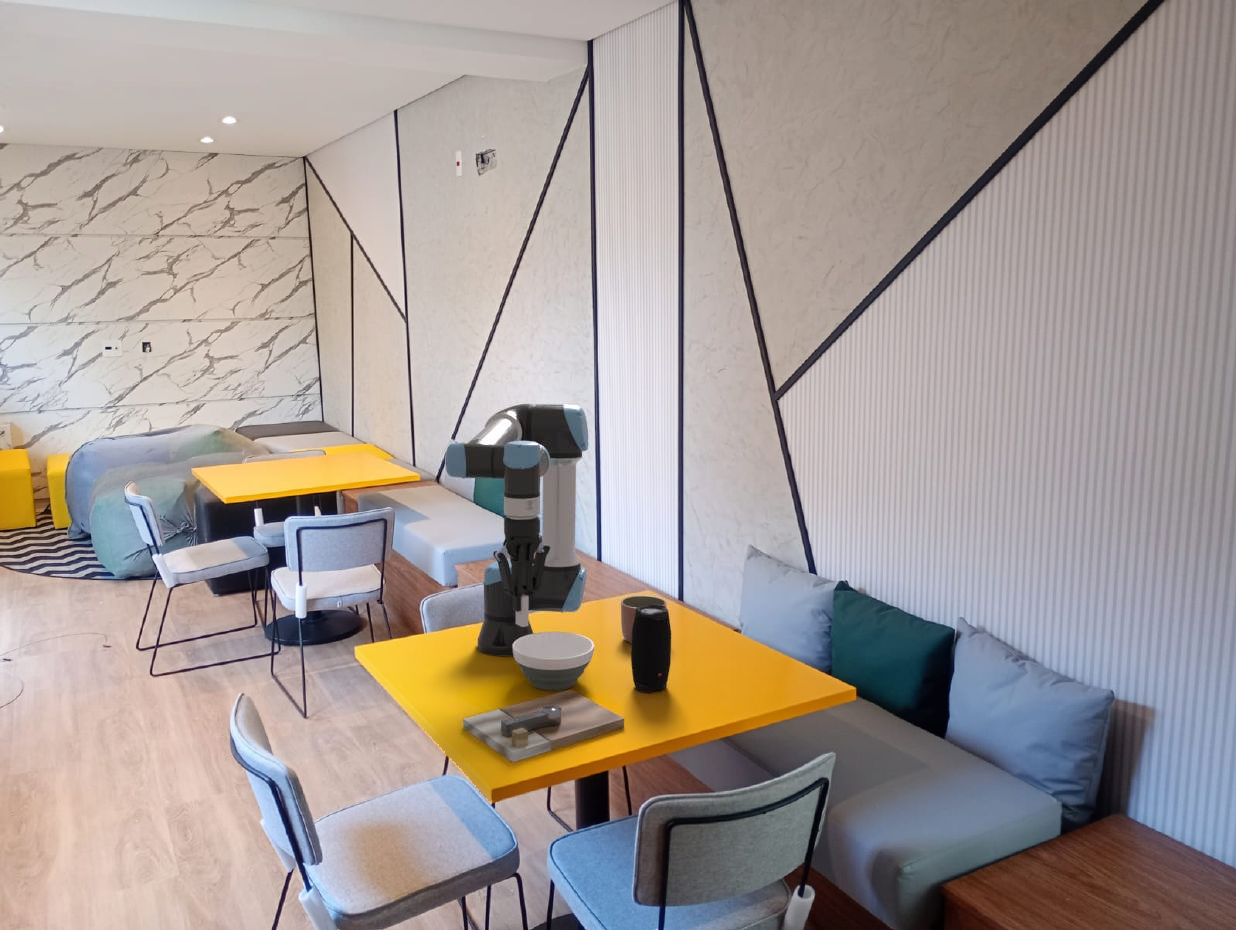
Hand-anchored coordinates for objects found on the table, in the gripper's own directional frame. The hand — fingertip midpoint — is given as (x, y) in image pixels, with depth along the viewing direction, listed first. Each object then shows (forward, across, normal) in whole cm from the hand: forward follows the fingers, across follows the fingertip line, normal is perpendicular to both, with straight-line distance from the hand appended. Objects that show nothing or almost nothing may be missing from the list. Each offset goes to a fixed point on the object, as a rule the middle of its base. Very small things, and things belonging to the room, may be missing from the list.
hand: (522, 624), depth 205 cm
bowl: (+23, +19, +16) cm, 34 cm away
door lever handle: (+20, -2, -7) cm, 21 cm away
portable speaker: (+23, +36, 0) cm, 43 cm away
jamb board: (+22, +3, -4) cm, 23 cm away
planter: (+23, +56, +27) cm, 66 cm away
